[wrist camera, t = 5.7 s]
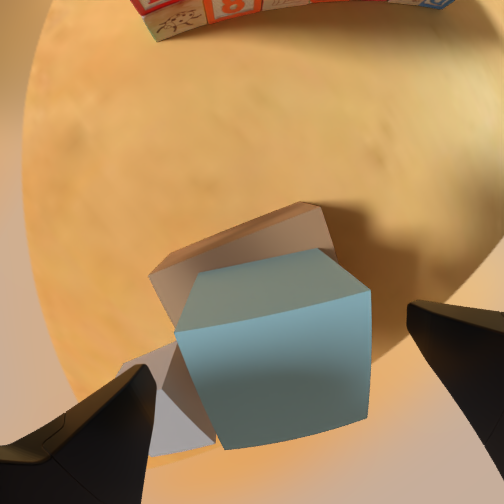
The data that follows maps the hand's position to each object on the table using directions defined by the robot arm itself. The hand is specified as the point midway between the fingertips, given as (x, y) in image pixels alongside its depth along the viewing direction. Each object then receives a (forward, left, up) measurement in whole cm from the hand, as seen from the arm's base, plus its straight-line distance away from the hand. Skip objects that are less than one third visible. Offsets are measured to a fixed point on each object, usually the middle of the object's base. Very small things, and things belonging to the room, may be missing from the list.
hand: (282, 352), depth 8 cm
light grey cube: (+7, +5, -6) cm, 11 cm away
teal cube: (0, 0, -3) cm, 3 cm away
